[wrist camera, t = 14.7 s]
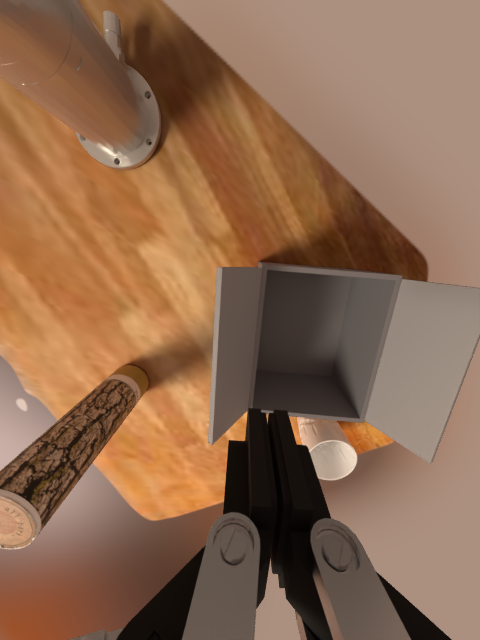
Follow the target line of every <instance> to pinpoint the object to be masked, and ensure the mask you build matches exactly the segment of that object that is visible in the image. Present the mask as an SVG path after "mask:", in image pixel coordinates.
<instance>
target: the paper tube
mask: <svg viewBox="0 0 480 640" xmlns="http://www.w3.org/2000/svg"><path fill="white" fill-rule="evenodd" d="M148 384H149V382H148V378H147V375H146V374H145V372H144V371H143V370H142V369H140V368H138V367H136V366H132V365H125V366H122V367H120V368H119V369H117V370H116V371H115V372H114V373H113V374H111V375H110V376H109V377H108V378H107V379H106V380H104V381H103V382H102V383H101V384H100V385H99V386H97V387H96V388H95V389H94V390H93V391H92V392H91V393H89V394H88V395H87V396H86V397H85V398H84V399H83V400H81V401H80V402H79V403H78V404H77V405H76V406H74V407H73V408H72V409H71V410H70V411H69V412H68V413H66V414H65V415H64V416H63V417H62V418H61V419H59V420H58V421H57V422H56V423H55V424H54V425H53V426H51V427H50V428H49V429H48V430H47V431H46V432H45V433H43V434H42V435H41V436H40V437H39V438H38V439H36V440H35V441H34V442H33V443H32V444H31V445H30V446H28V447H27V448H26V449H25V450H24V451H23V452H22V453H20V454H19V455H18V456H17V457H16V458H15V459H14V460H12V461H11V462H10V463H9V464H8V465H7V466H5V467H4V468H3V469H2V470H1V471H0V548H3V549H18V548H22V547H25V546H27V545H29V544H30V543H31V542H32V541H33V540H34V539H35V537H36V536H37V535H38V534H39V533H40V531H41V530H42V529H43V527H44V526H45V525H46V523H47V522H48V521H49V519H50V518H51V517H52V515H53V514H54V513H55V511H56V510H57V509H58V508H59V506H60V505H61V504H62V502H63V501H64V500H65V498H66V497H67V496H68V494H69V493H70V491H71V490H72V489H73V488H74V486H75V485H76V484H77V482H78V481H79V480H80V478H81V477H82V476H83V474H84V473H85V472H86V470H87V469H88V468H89V466H90V465H91V464H92V462H93V461H94V460H95V458H96V457H97V456H98V454H99V453H100V452H101V450H102V449H103V448H104V446H105V445H106V444H107V442H108V441H109V440H110V438H111V437H112V436H113V434H114V433H115V432H116V430H117V429H118V428H119V426H120V425H121V424H122V423H123V421H124V420H125V419H126V417H127V416H128V415H129V413H130V412H131V411H132V409H133V408H134V407H135V405H136V404H137V403H138V401H139V400H140V398H141V397H142V396H143V394H144V393H145V392H146V390H147V388H148Z"/></svg>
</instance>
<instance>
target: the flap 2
mask: <svg viewBox="0 0 480 640" xmlns="http://www.w3.org/2000/svg"><path fill="white" fill-rule="evenodd" d="M479 339H480V288H475V287H467V286H458V285H449V284H441V283H433V282H424V281H415V280H407V279H402V281H401V285H400V288H399V292H398V296H397V300H396V303H395V307H394V311H393V315H392V319H391V322H390V326H389V330H388V334H387V337H386V341H385V345H384V349H383V352H382V356H381V360H380V364H379V368H378V371H377V375H376V379H375V383H374V386H373V390H372V394H371V398H370V401H369V405H368V409H367V413H366V416H365V420H364V421H366V422H367V423H369V424H370V425H372V426H373V427H375V428H376V429H378V430H379V431H381V432H383V433H384V434H386V435H387V436H389V437H390V438H392V439H393V440H395V441H396V442H398V443H399V444H401V445H402V446H404V447H405V448H407V449H409V450H410V451H412V452H413V453H415V454H416V455H418V456H419V457H421V458H422V459H424V460H426V461H427V462H428V463H430V464H431V463H432V462H433V459H434V457H435V454H436V451H437V449H438V446H439V444H440V441H441V438H442V436H443V433H444V430H445V428H446V425H447V422H448V419H449V417H450V415H451V412H452V409H453V407H454V404H455V402H456V399H457V396H458V394H459V391H460V388H461V386H462V383H463V380H464V378H465V375H466V373H467V370H468V368H469V365H470V362H471V360H472V357H473V354H474V351H475V349H476V347H477V344H478V341H479Z"/></svg>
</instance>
